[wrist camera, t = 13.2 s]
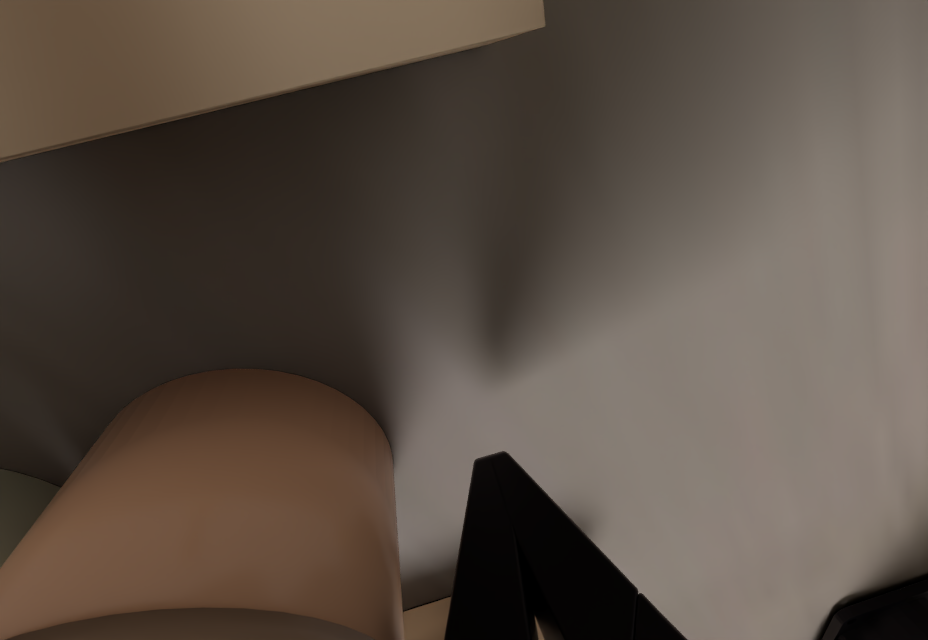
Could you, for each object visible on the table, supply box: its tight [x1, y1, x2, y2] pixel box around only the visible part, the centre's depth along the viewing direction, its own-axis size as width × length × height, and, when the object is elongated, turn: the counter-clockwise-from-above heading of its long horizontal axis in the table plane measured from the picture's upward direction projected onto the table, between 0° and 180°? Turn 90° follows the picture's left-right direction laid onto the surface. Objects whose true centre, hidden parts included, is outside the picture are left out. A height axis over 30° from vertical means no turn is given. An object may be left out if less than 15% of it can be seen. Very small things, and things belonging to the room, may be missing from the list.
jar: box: [0, 369, 404, 640], centre depth 7 cm, size 6×6×5 cm
